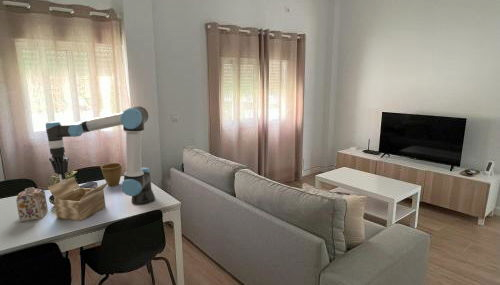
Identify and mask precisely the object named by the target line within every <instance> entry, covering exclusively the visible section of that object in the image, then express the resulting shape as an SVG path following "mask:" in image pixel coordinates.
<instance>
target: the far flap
mask: <svg viewBox="0 0 500 285" xmlns="http://www.w3.org/2000/svg"><path fill="white" fill-rule="evenodd" d="M65 181H66V184H63V185H61V184H60V181H59V182H57V183H54V184H51V185H49V186H47V188H48V190H49V191H50V194H51V195H52V197H53V198H54V199H56V198H58V197H60V196H63V195H65V194H67V193H70V192H72V191H74V190H76V189H79V188H80V187H79V184H78V182H77V180H76V178H75V177H74V176H71V177H69V178H67V179H65Z"/></svg>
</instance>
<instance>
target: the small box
mask: <svg viewBox="0 0 500 285" xmlns="http://www.w3.org/2000/svg"><path fill="white" fill-rule="evenodd" d="M79 187H80V188H90V189H95V188H97V187H99V185H98V182H97V181H88V182H86V183H84V184H82V185H80V186H79Z"/></svg>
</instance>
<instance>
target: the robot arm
mask: <svg viewBox="0 0 500 285" xmlns="http://www.w3.org/2000/svg"><path fill="white" fill-rule="evenodd" d="M148 119H149V112H148V111H147V109H146V108H145V107H143V106H139V105H138V106H133V107H129V108H126V109H125V110H123V111H122V112H119V113H114V114H109V115H103V116H101V117H100V116H99V117H95V118H91V119H85V120H80V121H78V122H74V123H70V124H69V123H67V124H61V122H60V121H59V120H58V121H57V120H56V121H49V122H48V121H47V122H46V123H45V131H46V136H47V139H48V140H47V141H48V148H49V153H50V155H51V157H50V158H48V160H49V162H50V164H51V166H52V168H53V171H54V174H57V175H58V176H57V177H58V180H59V182H60V184H61V185H63V184H66V181H65V180H66V174H67V173H68V172H69V170H68V169H69V168H68V167H69V160H70V158H69V157H66V155H65V152H66V151H65V146H64V140H63V139H64V138H71V137H74V138H76V137H81V136H82V134H85V133H91V132H94V131H95V132H96V131H99V130H104V129H109V128H114V127H119V126H123V127H122V128H123V129H122V130H123V131H124V133H125V134H126V135H125V138H126V139H125V143H126V144H125V146H126V150H125V151H126V156H125V157H126V161H125V162H126V164H125V165H126V171H125V172H124V173H123V181H122V183H121V185H120V188H121V191H122V192H123V194H125V195H126V196H129V197H131V204H132V205H136V206H144V205H149V204H152V203H153V202H155V200H156V196H155V193H154V191H153V189H152V180H151V170H150V168H149V167H142V133H143V132H144V131H145V124H146V123H147V122H148Z"/></svg>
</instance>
